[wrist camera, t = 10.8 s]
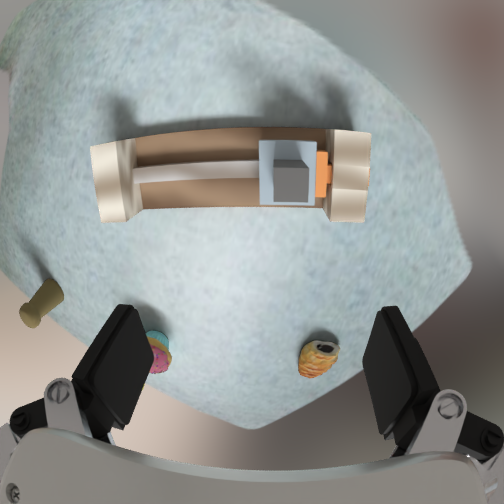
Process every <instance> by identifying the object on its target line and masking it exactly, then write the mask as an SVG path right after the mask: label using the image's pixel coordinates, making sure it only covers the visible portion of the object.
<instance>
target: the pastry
mask: <svg viewBox="0 0 504 504" xmlns="http://www.w3.org/2000/svg"><path fill="white" fill-rule="evenodd" d="M339 351H340V347H339V346H338V345H336V344H334V343H333V342H322V341H318V340H315V341H312V342H309V343H308V344H306V345H305V346H304V347H303V349H302V351H301V354H300V357H299V364H298V369H299V370H298V371H299V373H300V375H302V376H305V377H308V378H314V377H317V376H318V375H322V374H323V372H327V370H328V369H330V368H331V367H332V364H334V363H335V362H336V361H337V357H338V352H339Z"/></svg>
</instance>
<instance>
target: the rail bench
mask: <svg viewBox="0 0 504 504" xmlns="http://www.w3.org/2000/svg"><path fill="white" fill-rule="evenodd" d="M259 140H303V141H315V142H317V150H325V151H327V152H328V164H332V178H331V184H329V183H327V186H326V197H315V206H309V205H260V183H259ZM370 150H371V133H365V132H356V131H347V130H336V129H318V128H297V127H240V128H219V129H205V130H193V131H183V132H174V133H165V134H158V135H151V136H144V137H138V138H132V139H125V140H120V141H114V142H109V143H104V144H100V145H95V146H91V147H90V151H91V161H92V169H93V177H94V183H95V190H96V196H97V202H98V208H99V213H100V218H101V223H109V222H127V221H128V220H129V219H131V218H132V217H133V216H135V215H136V214H137V213H139V212H140V211H141V210H143V209H161V208H192V207H303V208H323V209H324V211H325V213H326V215H327V217H328V218H329V220H330V221H333V222H360V223H364V219H365V210H366V201H367V191H368V180H369V167H370Z"/></svg>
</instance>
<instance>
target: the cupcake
mask: <svg viewBox="0 0 504 504" xmlns="http://www.w3.org/2000/svg"><path fill="white" fill-rule="evenodd" d="M146 336H147V338H148V341H149V343H150V346H151V348H152V351H153V353H154V362H153V364H152V367H151V369H150V373H154V374H156V373H161V372H164V371H167V369H168V367H169V365H170V363H171V360H172V357H171V354H170V352H169V341H168V339H167V337H166V336H165V335H164V334H162V333H160V332H158V331H154V330H152V331H148V332H147V333H146ZM143 387H144V386H143ZM142 390H143V389H142Z"/></svg>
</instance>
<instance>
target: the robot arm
mask: <svg viewBox="0 0 504 504" xmlns="http://www.w3.org/2000/svg"><path fill="white" fill-rule="evenodd" d="M153 362H154V353H153V351H152V348H151V346H150V343H149V341H148V338H147V336H146V333H145V330H144V328H143V325H142V322H141V320H140V317H139V314H138V311H137V310H136V309H134V307H133V306H132V305H125V304H119V305H117V307H116V308H115V309H114V311H113V312H112V314H111V315H110V317H109V318H108V320H107V321H106V323H105V324H104V326H103V327H102V329H101V330H100V332H99V333H98V335H97V336H96V338H95V339H94V341H93V342H92V344H91V345H90V347H89V348H88V350H87V352H86V353H85V355H84V357H83V358H82V360H81V361H80V363H79V365H78V366H77V368H76V370H75V371H74V373H73V375H72V378H73V379H72V381H70V380H68V379H66V378H57V379H55V380H53V381H52V382H50V383H49V384H48V386H47V387H46V389H45V392H44V398H42V399H39V400H37V401H34V402H32V403H29V404H27V405H24V406H22V407H19V408H17V409H16V410H15V411H14V412H13V413H12V415H11V418H10V424H8V423H6V424H4V425H3V426H2V427H1V428H0V504H504V435H503V432H502V430H501V429H500V427H498V426H497V425H496V424H493V423H491V422H489V421H487V420H485V419H483V418H481V417H478V416H476V415H474V414H472V413H470V412H468V411H467V404H466V401H465V399H464V397H463V396H462V395H461V394H460V393H458V392H457V391H455V390H451V389H449V390H443V391H440V389H439V386H438V384H437V381H436V379H435V377H434V375H433V373H432V370H431V368H430V366H429V364H428V361H427V359H426V357H425V355H424V353H423V351H422V349H421V347H420V345H419V343H418V341H417V339H416V338H414V337H413V335H412V333H411V331H410V329H409V327H408V325H407V323H406V321H405V319H404V317H403V315H402V313H401V312H400V310H399V308H398V307H397V306H386V307H382V309H381V311H378V312H377V314H376V318H375V321H374V325H373V328H372V331H371V334H370V338H369V341H368V344H367V347H366V350H365V353H364V356H363V360H362V363H363V368H364V372H365V376H366V379H367V383H368V387H369V391H370V395H371V399H372V403H373V407H374V412H375V416H376V420H377V425H378V429H379V433H380V434H383V435H384V439H385V440H389V439H393V438H394V439H395V443H396V445H397V446H396V447H395V449H394V450H393V452H392V454H391V456H390V457H389V459H384V460H380V461H374V462H369V463H363V464H356V465H349V466H343V467H334V468H324V469H314V470H313V469H312V470H293V471H258V470H238V469H227V468H216V467H209V466H200V465H195V464H188V463H182V462H177V461H172V460H167V459H163V458H158V457H153V456H150V455H146V454H142V453H138V452H135V451H131V450H128V449H124V448H121V447H118V446H116V445H115V443H114V440H113V438H112V435H111V433H110V430H111V428H112V427H114V428H117V429H121V430H123V429H124V427H125V425H127V424H129V422H130V420H131V417H132V414H133V412H134V409H135V406H136V404H137V401H138V399H139V396H140V394H141V391H142V389H143V386H144V384H145V381H146V379H147V376H148V374H149V372H150V369H151V367H152V364H153Z"/></svg>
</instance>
